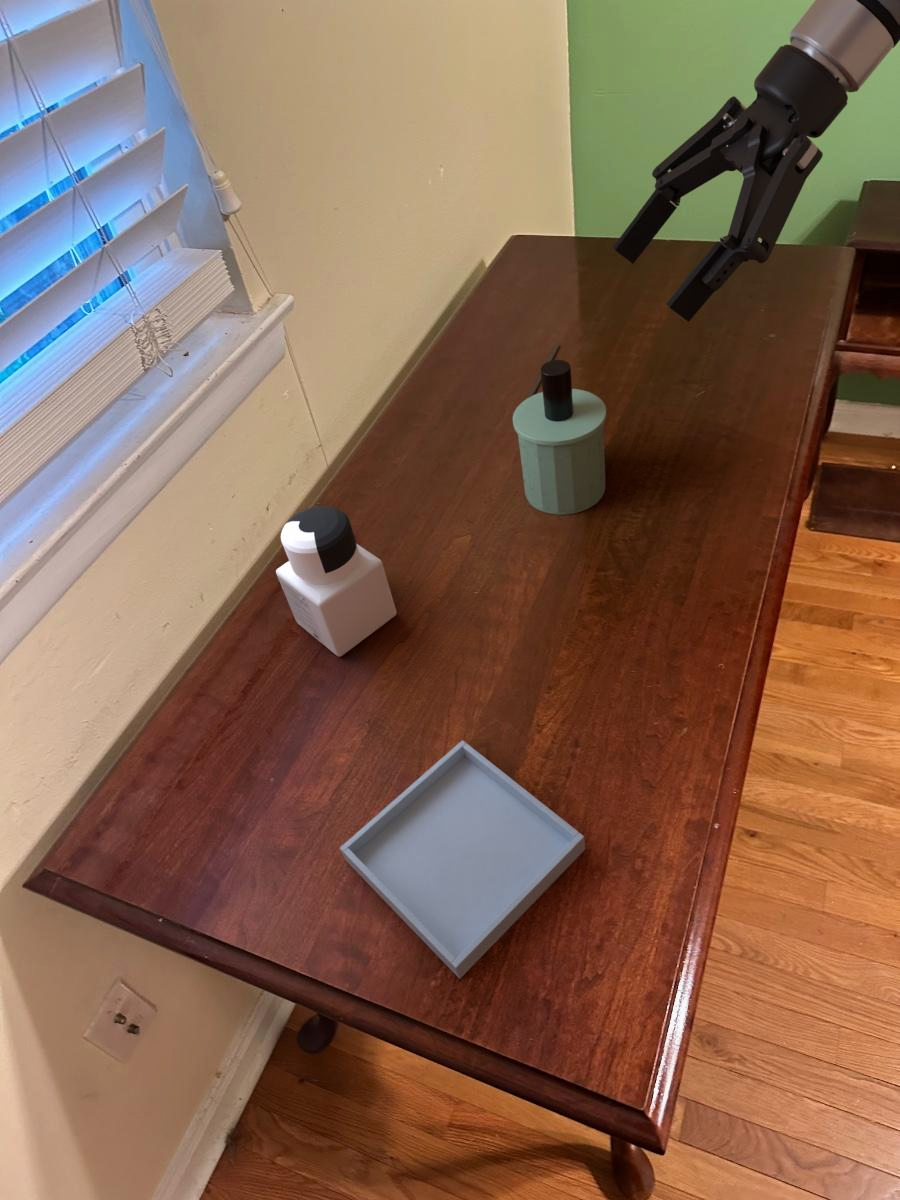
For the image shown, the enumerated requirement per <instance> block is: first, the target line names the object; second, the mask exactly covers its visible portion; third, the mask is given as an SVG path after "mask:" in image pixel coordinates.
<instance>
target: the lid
mask: <svg viewBox="0 0 900 1200" xmlns="http://www.w3.org/2000/svg"><path fill="white" fill-rule="evenodd" d="M571 367H572V366H571V364H570V363H569V362H568V361H566V360H564V359H553V360H552V361H549V362H546V361H545V363H543V364H542V365H541V367H540V372H541V379H542V381H541V389H542V391H541V392H537V393H535V394H534V395H533V396H531V397H529V398H528V399H526V398H525V400H523V401H522V402H521V403H520V404H519V405H518V406H517V407H516V408H515V410H514V412H513V414H512V425H513V429H514V431H515V432H516V433H517V435H518V434H519V435H520V436H521V437H522V438H523V439H525V440H527V441H529V442H532V443H535V444H540V445H548V446H559V445H567V444H572V443H576V442H579V441H582V440H584V439H587V438H588V437H590V436H592V435H594V434H595V433H596V432H597V431H599V430H600V428H601V427H602V426H603V427H604V425H605V423H606V420H607V408H606V404H605V403H604V401H603V400H602V399H601V398H600V397H599V396H597V395H596V394H595V393H592V392H590V391H587V390H583V389H580V388H579V389H578V388H573V385H572V370H571V369H572V368H571Z"/></svg>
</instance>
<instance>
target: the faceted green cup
mask: <svg viewBox="0 0 900 1200" xmlns="http://www.w3.org/2000/svg"><path fill="white" fill-rule="evenodd" d="M604 429H605V428H604V425H603V426H602V427H601V428H600V430H599V431H597V432H596V433H595V434H594V435H592V436H590V437H588V438H587V439H584V440H582V441H579V442H576V443H572V444H567V445H559V446H548V445H540V444H535V443H532V442H529V441H527V440H525V439H523V438H522V437H521V436H520V435H519V434H518V433H517V437H518V447H519V455H520V462H521V463H520V464H521V471H522V480H523V488H524V494H525V498H526V500H527V502H528V503H529V504H530V506H532V507H533V508H535V509H536V510H538V511H540V512H543V513H545V514H549V515H557V516H558V515H559V516H565V515H573V514H577V513H581V512H584V511H586V510H588V509H591V508H592V507H594V506H595V505H596V504H598V503H599V502H600V500H601V499H602V498H603V496H604V494H605V491H606V461H605V435H604V434H605V433H604V431H605V430H604Z"/></svg>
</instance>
